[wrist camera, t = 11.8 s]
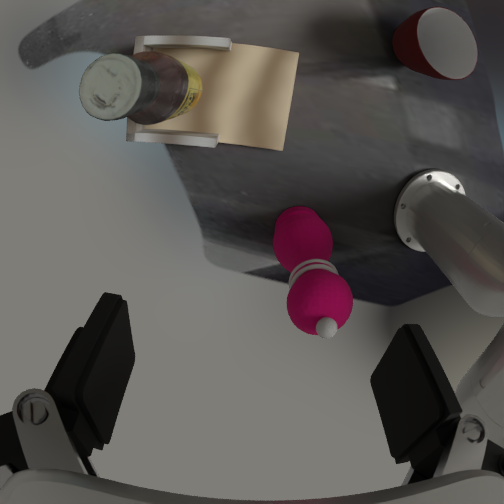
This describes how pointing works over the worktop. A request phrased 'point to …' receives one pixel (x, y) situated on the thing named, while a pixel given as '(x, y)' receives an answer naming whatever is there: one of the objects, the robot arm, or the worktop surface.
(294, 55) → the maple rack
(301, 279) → the pepper mill
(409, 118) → the worktop surface
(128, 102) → the sauce bottle
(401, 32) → the mug
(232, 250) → the worktop surface
